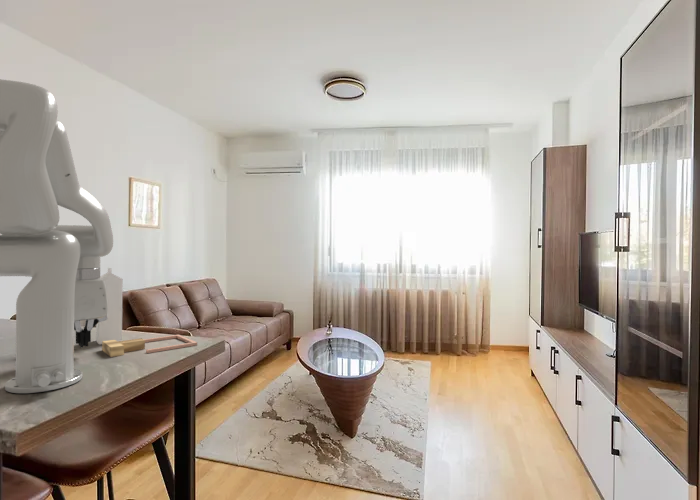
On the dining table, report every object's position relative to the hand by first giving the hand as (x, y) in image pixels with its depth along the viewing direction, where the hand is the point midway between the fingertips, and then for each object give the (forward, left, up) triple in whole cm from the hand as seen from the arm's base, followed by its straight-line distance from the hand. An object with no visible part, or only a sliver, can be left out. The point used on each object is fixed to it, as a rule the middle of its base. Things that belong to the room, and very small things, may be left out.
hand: (83, 345), depth 102 cm
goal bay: (-1, -19, -3) cm, 19 cm away
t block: (-1, -10, -3) cm, 10 cm away
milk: (+14, -9, -3) cm, 17 cm away
